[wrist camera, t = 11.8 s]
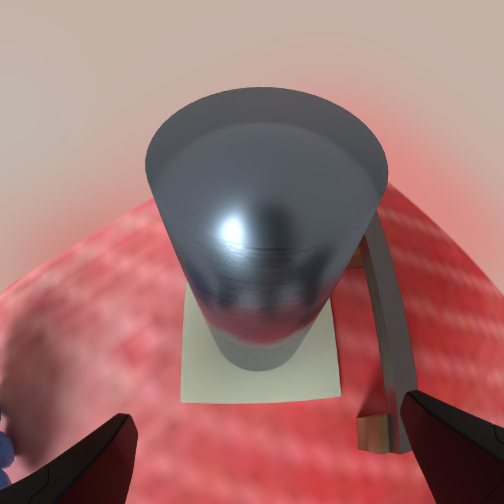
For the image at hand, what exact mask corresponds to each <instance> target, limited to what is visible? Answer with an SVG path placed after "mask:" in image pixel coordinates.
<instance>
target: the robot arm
mask: <svg viewBox="0 0 504 504" xmlns="http://www.w3.org/2000/svg"><path fill="white" fill-rule="evenodd" d="M400 416H401V419H402V422H403V425H404V428H405V431H406V434H407V437H408V440H409V443H410V446H411V448H412V451H413V453H414V455H415V457H416V459H417V461H418V464H419V466H420V468H421V470H422V472H423V474H424V477H425V479H426V481H427V483H428V485H429V488H430V490H431V492H432V494H433V497H434V499H435V501H436V504H504V428H502V427H500V426H497V425H495V424H494V425H493V424H492V423H490V422H488V421H485V420H483V419H481V418H478V417H476V416H474V415H471V414H469V413H467V412H465V411H462V410H460V409H458V408H456V407H453V406H451V405H449V404H447V403H445V402H442V401H440V400H438V399H436V398H434V397H432V396H429V395H427V394H425V393H423V392H421V391H419V390H412V391H408V392H406V393H405V395H404V398H403V401H402V404H401V407H400ZM137 440H138V431H137V429H136V426H135V424H134V421H133V419H132V416H131V415H130V414H124V413H118V414H116V415H115V416H114V417H112V418H111V419H110V420H108V421H107V422H106V423H104V424H103V425H101V426H100V427H99V428H97V429H96V430H95V431H93V432H92V433H91V434H89V435H88V436H86V437H85V438H84V439H82V440H81V441H79V442H78V443H77V444H75V445H74V446H72V447H71V448H70V449H68V450H67V451H65V452H64V453H62V454H61V455H59V456H58V457H57V458H55V459H54V460H52V461H51V462H49V463H48V464H46V465H45V466H43V467H42V468H40V469H39V470H37V471H36V472H34V473H32V474H31V475H29V476H27V477H25V478H23V479H22V480H20V481H18V482H16V483H14V484H12V485H9V486H7V487H5V488H3V489H1V490H0V504H125V502H126V498H127V494H128V490H129V486H130V482H131V478H132V474H133V468H134V461H135V454H136V447H137Z"/></svg>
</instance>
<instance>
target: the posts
mask: <svg viewBox="0 0 504 504" xmlns="http://www.w3.org/2000/svg"><path fill="white" fill-rule="evenodd" d="M358 267H364V265H363V261H362V257H361V252H360V248H359V245H358V247H357V248H356V250H355V252H354V254H353V256H352V258H351V260H350V261H349V263H348V265H347V267H346V268H358ZM357 430H358V449H360V450H364V451H368V452H373V453H377V454H386V453H389V436H388V421H387V412H386V413H381V414H376V415H371V416H366V417H361V418H357Z"/></svg>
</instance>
